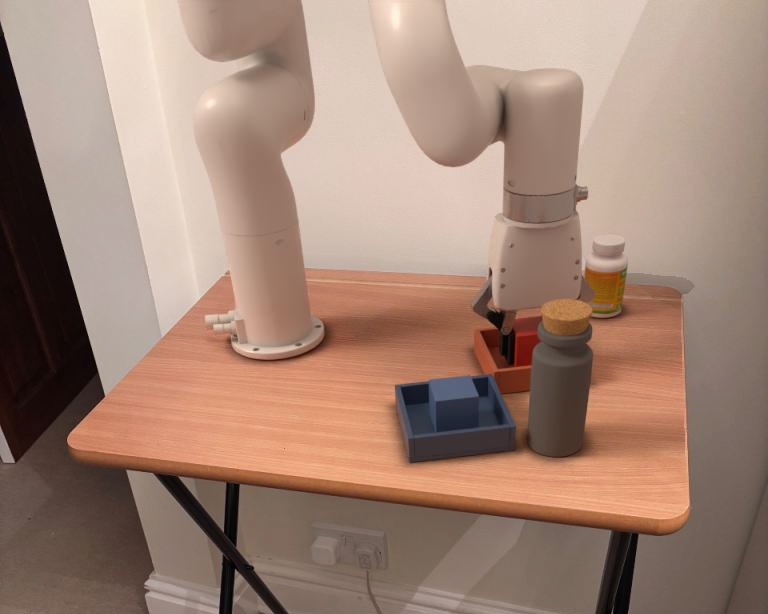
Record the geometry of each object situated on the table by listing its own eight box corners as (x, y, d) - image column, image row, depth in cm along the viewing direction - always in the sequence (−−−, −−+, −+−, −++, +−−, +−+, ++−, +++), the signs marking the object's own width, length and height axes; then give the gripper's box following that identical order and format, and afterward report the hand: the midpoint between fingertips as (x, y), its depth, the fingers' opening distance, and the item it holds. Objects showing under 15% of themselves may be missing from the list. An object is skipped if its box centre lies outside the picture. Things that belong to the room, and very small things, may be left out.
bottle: (583, 459, 79) (600, 323, 70) (525, 456, 80) (534, 321, 71) (582, 427, 84) (597, 296, 74) (527, 425, 85) (536, 295, 75)
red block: (515, 371, 93) (517, 336, 90) (506, 354, 96) (507, 319, 93) (553, 367, 93) (556, 331, 90) (542, 349, 96) (545, 315, 93)
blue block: (436, 438, 83) (435, 401, 80) (429, 415, 87) (428, 379, 84) (478, 433, 83) (479, 396, 81) (470, 411, 87) (470, 374, 84)
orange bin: (493, 394, 90) (493, 371, 88) (473, 350, 99) (474, 328, 97) (587, 384, 91) (590, 361, 89) (559, 341, 100) (561, 319, 98)
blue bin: (409, 462, 81) (408, 438, 79) (395, 407, 90) (394, 384, 88) (514, 450, 81) (516, 426, 80) (491, 396, 90) (492, 373, 88)
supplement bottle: (621, 319, 103) (632, 247, 97) (580, 318, 104) (587, 246, 98) (620, 302, 107) (630, 232, 101) (580, 301, 108) (587, 231, 102)
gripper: (604, 184, 86) (588, 335, 97) (453, 200, 85) (455, 351, 97) (628, 205, 80) (608, 363, 92) (466, 223, 79) (467, 380, 91)
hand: (529, 355), depth 94 cm, fingers closed on red block, 4 cm apart
